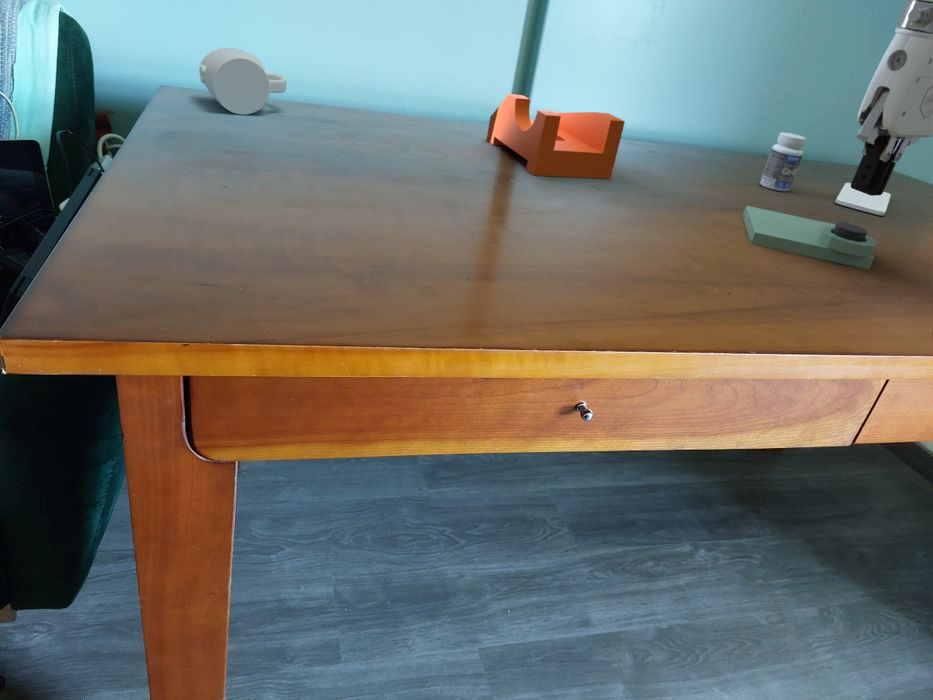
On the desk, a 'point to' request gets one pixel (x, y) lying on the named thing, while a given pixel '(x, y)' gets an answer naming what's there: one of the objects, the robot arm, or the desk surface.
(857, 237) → the scale button
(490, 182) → the desk surface
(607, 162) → the tape dispenser
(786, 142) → the pill bottle
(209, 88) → the mug
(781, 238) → the scale
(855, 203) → the smartphone
